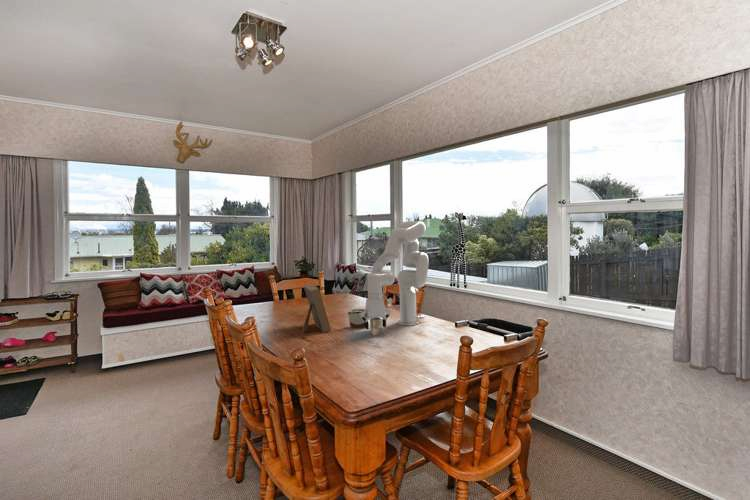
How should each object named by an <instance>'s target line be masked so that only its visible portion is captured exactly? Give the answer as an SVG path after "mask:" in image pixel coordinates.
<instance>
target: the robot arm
mask: <svg viewBox="0 0 750 500" xmlns="http://www.w3.org/2000/svg"><path fill="white" fill-rule="evenodd" d="M426 229H427V228H426V224H425V222H423V221H421V220H418V221H417V220H414V221H413V220H410V221H403V222H400V223H399V224H398V227H397V228H393V229H392V230H391V231H390V232H389V236H388V239H387V242H386V246H385V248H384V251H383V253H382V254H381V255H380V256H379V257H378V258H377V259H376V260H375V262H374V263H373V266H372V268H371V271H370V273H368V274H367V298H366V300H365V308H364V309H365V311H363V312H362V313H360V316H361V318H362V319H363V320H364V321H365V328H364V329H366V330H370V327H369V326H370V318H378V317H379V318H381V319H382V328H383V327H384V328H387V320H388V318H389V317H390V314H391V312H392V311H391V310H389V309H387V308H386V307H385V301H384V296H385V293H384V292H383V286H391V285H393V284H394V283H395V281H396V279H397V283H398V288H399V313H400V314H399V316H400V317H399V320H397V324H398V325H401V326H416V325H419V323H420V320H423V319H425V315H423V314H422V315H418V314H417V292H416V290H415V288H422V287H424V286H425V285H426V283H427V278H428V272H429V266H430V264H429V263H430V260H429V256H428V254H427V253H425V252H423V251H419V249H420V243H419V240H418V239H420V238H421V237H423V236H424V235H425V233H426ZM403 244H404V248H403V255H402V265H403V266H404V267H405V268H409V269H402V270H400V271H399V272H398V273H397V278H396V277H395V274H394V273H393V272H390V271H383V269H384V268H385V266H386V265H387V264H388V263H390V262H394V261H395V260H397V259H398V258H399V256H400V253H401V250H402V247H403ZM413 269H414V270H413ZM364 314H365V316H366V317H365V318H364V316H363V315H364Z"/></svg>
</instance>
